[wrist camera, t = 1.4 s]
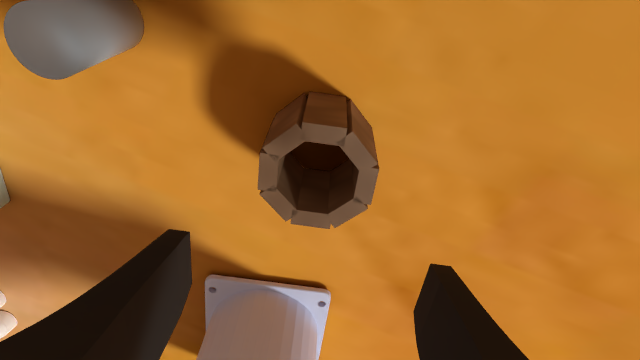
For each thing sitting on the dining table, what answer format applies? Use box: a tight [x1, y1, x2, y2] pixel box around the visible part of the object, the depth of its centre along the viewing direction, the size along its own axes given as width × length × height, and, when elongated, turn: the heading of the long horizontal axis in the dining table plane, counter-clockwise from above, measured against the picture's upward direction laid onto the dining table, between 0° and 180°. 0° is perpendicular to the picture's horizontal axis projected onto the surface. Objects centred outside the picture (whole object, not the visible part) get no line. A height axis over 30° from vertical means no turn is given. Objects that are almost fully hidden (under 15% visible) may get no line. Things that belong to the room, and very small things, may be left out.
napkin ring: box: [258, 92, 379, 229], centre depth 19 cm, size 5×5×4 cm
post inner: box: [4, 0, 144, 80], centre depth 16 cm, size 3×3×5 cm
